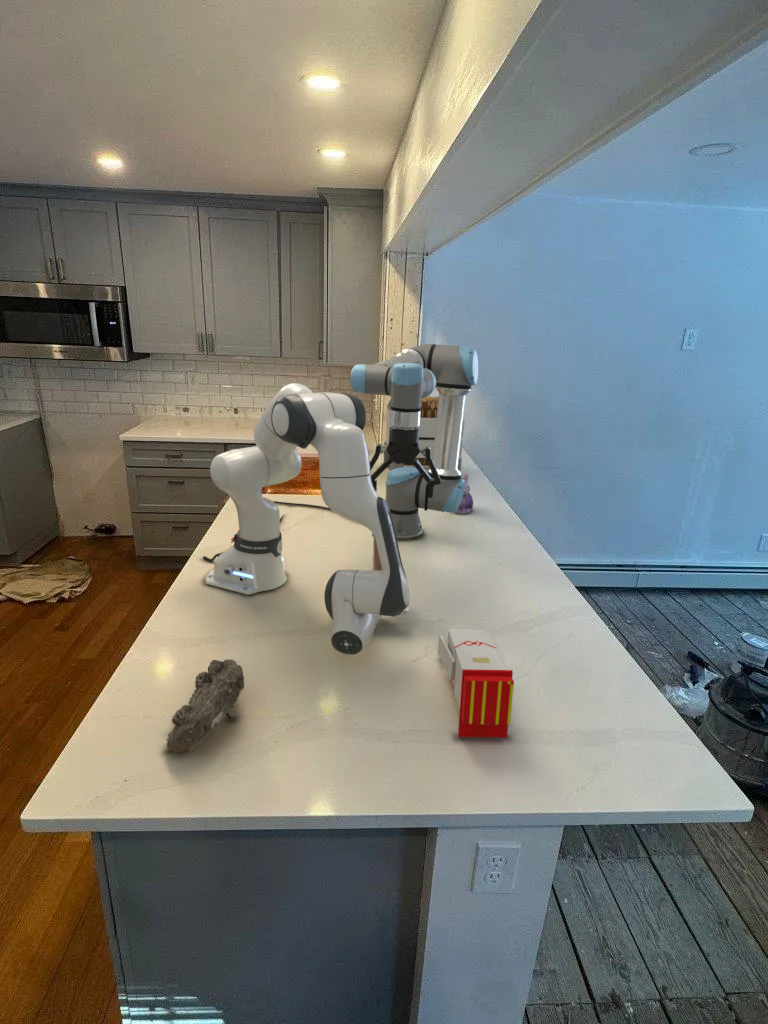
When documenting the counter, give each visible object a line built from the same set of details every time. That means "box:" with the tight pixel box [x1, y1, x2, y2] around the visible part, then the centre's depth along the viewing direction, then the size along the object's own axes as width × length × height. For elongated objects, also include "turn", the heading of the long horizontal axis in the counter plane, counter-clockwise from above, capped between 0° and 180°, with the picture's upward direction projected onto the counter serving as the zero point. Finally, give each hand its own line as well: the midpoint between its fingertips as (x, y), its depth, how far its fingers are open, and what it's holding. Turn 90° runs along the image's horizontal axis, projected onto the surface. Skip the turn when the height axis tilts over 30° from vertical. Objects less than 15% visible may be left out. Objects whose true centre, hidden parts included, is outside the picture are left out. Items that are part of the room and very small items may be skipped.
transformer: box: [383, 396, 465, 472], centre depth 268 cm, size 34×33×41 cm
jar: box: [372, 537, 382, 570], centre depth 153 cm, size 5×5×20 cm
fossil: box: [166, 658, 245, 754], centre depth 106 cm, size 22×10×15 cm
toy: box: [437, 628, 515, 738], centre depth 117 cm, size 12×13×30 cm
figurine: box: [454, 473, 474, 515], centre depth 223 cm, size 9×10×15 cm
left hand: (376, 583), depth 149 cm, fingers open, 8 cm apart
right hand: (399, 507), depth 149 cm, fingers open, 13 cm apart
